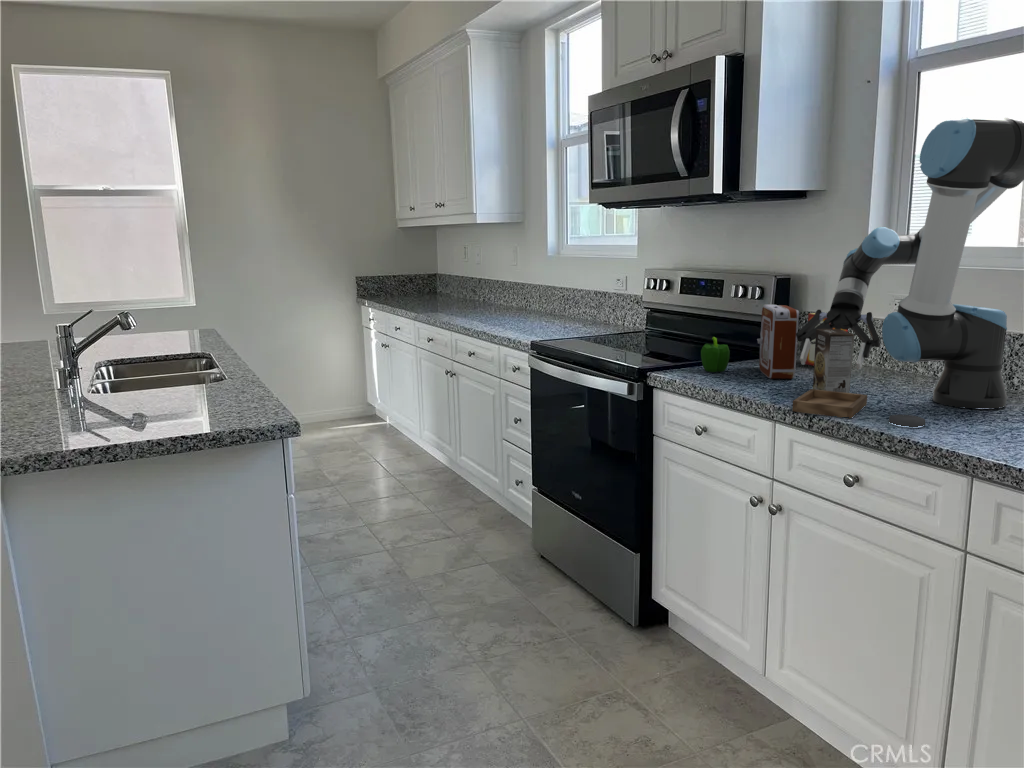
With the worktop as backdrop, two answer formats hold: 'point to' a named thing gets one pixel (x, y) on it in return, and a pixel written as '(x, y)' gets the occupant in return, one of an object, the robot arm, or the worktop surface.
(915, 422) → the lens cap
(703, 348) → the bell pepper
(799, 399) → the tray
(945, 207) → the robot arm
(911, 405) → the worktop surface
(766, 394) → the worktop surface
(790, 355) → the vintage travel case
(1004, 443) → the worktop surface
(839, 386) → the coffee box
